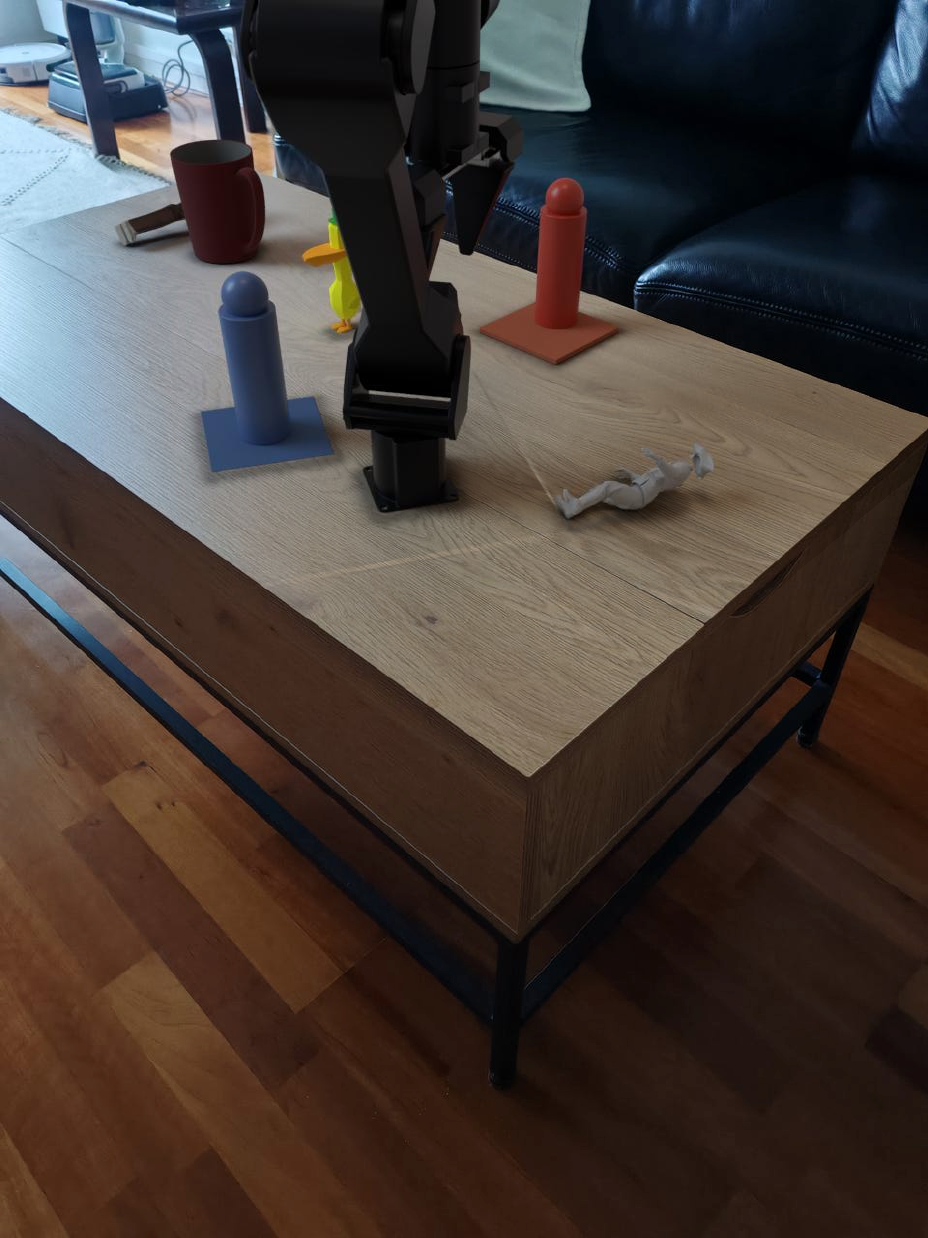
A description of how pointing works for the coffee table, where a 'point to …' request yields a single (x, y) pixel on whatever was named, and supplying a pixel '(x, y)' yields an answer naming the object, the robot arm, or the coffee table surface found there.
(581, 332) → the red mat
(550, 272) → the red skittle
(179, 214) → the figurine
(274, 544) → the coffee table surface
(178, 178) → the mug
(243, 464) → the blue mat
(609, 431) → the coffee table surface
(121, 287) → the coffee table surface
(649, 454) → the soldier figure
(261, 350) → the blue skittle
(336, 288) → the toy figure
